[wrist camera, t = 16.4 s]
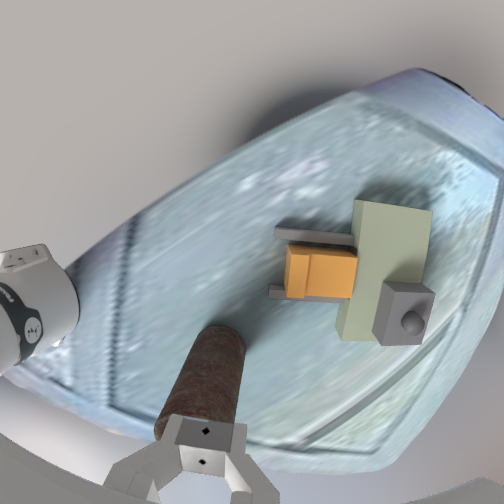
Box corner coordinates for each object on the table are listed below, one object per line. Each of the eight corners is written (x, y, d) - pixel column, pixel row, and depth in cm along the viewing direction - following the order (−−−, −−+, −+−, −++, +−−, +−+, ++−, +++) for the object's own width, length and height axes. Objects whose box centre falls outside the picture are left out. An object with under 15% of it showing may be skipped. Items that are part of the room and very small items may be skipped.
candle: (212, 311, 40) (169, 403, 21) (257, 337, 41) (247, 441, 21) (188, 349, 42) (141, 444, 22) (230, 373, 42) (207, 476, 22)
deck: (265, 323, 40) (265, 362, 30) (277, 191, 36) (282, 191, 27) (395, 328, 40) (424, 362, 30) (418, 209, 36) (459, 216, 26)
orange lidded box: (283, 281, 39) (286, 297, 33) (287, 244, 38) (291, 254, 32) (341, 285, 39) (353, 301, 33) (346, 249, 38) (360, 260, 32)
